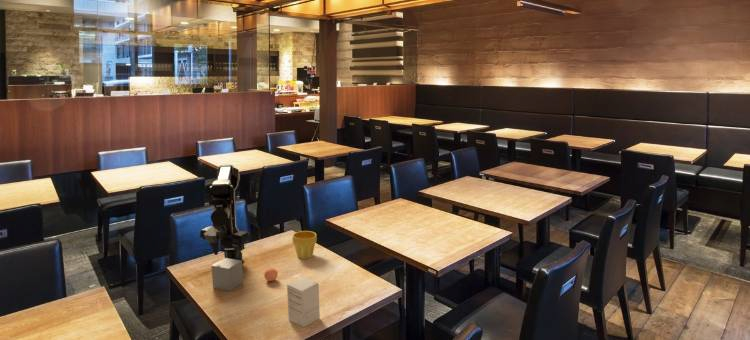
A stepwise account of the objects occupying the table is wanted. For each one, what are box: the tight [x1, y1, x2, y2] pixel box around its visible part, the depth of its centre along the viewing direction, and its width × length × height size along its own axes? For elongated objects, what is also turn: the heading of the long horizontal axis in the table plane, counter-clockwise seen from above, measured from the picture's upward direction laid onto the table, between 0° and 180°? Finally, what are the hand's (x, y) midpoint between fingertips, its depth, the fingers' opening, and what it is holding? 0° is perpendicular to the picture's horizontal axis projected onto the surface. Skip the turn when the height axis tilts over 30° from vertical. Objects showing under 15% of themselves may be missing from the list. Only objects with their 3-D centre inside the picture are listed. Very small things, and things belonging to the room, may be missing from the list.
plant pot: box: [292, 230, 318, 260], centre depth 200 cm, size 10×10×10 cm
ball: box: [263, 267, 279, 282], centre depth 177 cm, size 5×5×5 cm
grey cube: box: [211, 257, 244, 292], centre depth 173 cm, size 8×8×9 cm
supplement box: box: [286, 276, 321, 328], centre depth 148 cm, size 7×7×13 cm
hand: (226, 256), depth 171 cm, fingers open, 9 cm apart
